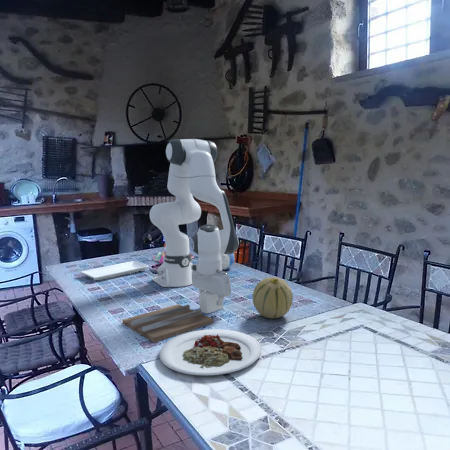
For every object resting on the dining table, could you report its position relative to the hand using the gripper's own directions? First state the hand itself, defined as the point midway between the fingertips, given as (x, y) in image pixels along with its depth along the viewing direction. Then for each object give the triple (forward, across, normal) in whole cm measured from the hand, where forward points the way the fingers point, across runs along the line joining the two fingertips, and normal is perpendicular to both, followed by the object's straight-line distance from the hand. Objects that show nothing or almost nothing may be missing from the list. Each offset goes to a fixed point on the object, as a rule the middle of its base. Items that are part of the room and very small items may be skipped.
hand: (211, 302), depth 163 cm
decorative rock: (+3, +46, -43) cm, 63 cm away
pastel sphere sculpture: (+3, +86, -38) cm, 94 cm away
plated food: (+3, -30, +24) cm, 39 cm away
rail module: (+3, 0, 0) cm, 3 cm away
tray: (+3, +79, +2) cm, 79 cm away
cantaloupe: (+3, -22, -11) cm, 25 cm away
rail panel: (+3, 0, +20) cm, 20 cm away
